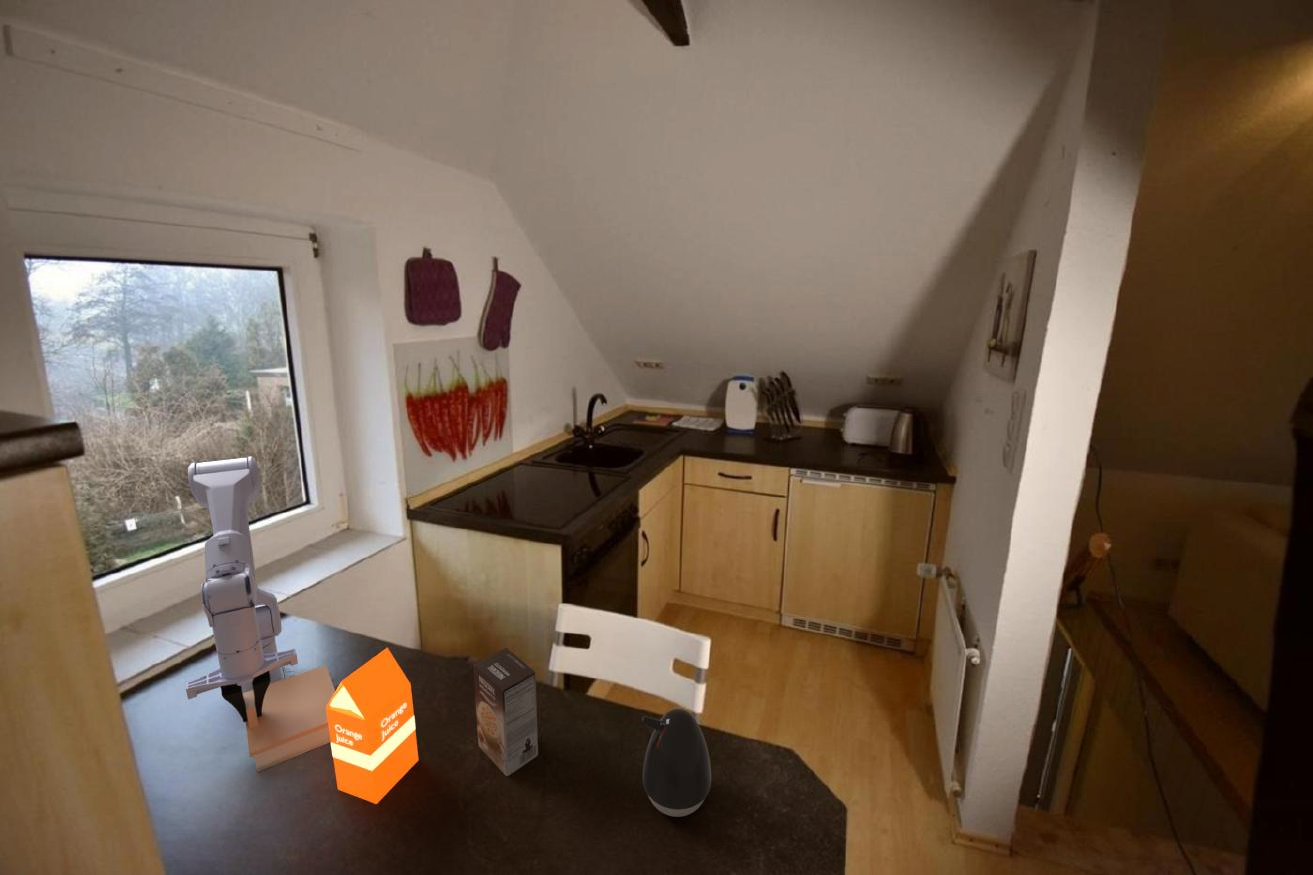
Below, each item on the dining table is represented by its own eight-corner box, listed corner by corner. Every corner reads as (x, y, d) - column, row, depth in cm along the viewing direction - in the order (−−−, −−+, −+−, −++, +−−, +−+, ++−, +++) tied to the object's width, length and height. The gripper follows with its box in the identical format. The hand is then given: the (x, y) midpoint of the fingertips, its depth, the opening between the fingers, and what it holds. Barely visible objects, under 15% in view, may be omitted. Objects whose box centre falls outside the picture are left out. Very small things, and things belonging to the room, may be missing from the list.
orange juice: (419, 760, 91) (408, 651, 86) (376, 804, 83) (361, 688, 78) (381, 747, 93) (368, 641, 89) (336, 789, 85) (319, 675, 80)
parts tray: (249, 714, 100) (246, 697, 99) (326, 686, 107) (323, 671, 107) (257, 772, 88) (253, 753, 87) (342, 737, 95) (340, 719, 95)
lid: (243, 699, 100) (239, 676, 98) (326, 670, 107) (323, 648, 106) (250, 759, 87) (245, 733, 86) (344, 722, 95) (341, 698, 93)
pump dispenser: (642, 770, 90) (643, 688, 86) (707, 772, 89) (711, 690, 86) (638, 828, 80) (639, 738, 76) (712, 831, 79) (716, 741, 76)
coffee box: (476, 747, 94) (470, 663, 90) (509, 726, 98) (505, 646, 94) (506, 778, 88) (501, 690, 84) (540, 755, 92) (537, 670, 88)
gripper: (179, 674, 83) (196, 751, 86) (295, 639, 91) (306, 710, 95) (180, 651, 88) (196, 724, 91) (289, 620, 97) (300, 688, 100)
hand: (252, 715), depth 93 cm, fingers closed on lid
